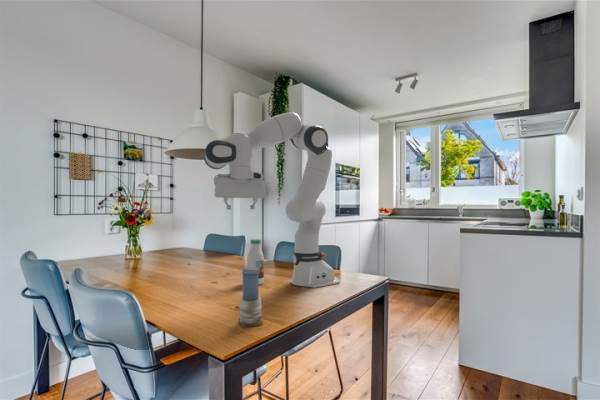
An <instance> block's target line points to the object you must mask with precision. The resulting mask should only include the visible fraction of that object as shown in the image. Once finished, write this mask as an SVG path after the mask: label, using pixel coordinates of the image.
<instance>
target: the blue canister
mask: <svg viewBox="0 0 600 400" xmlns="http://www.w3.org/2000/svg"><path fill="white" fill-rule="evenodd" d="M241 274H242V297H243V300H244V301H255V300H258V296H259V285H260V284H259V268H254V267H249V268H247V267H245V268H244V267H243V268H242V269H241ZM258 284H259V285H258Z"/></svg>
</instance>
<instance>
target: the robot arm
mask: <svg viewBox="0 0 600 400" xmlns="http://www.w3.org/2000/svg"><path fill="white" fill-rule="evenodd" d="M288 140H289V141H291V143H292V145H293V146H294V147H295V148H297V149H300V150H303V151H306V152H307V160H306V163H305V168H304V171H303V175H302V178H301V182H300V185H299V187H298V188H297V190H296V191H295V193H294V195H293V197H292V199H290V200H289V201H288V202H287V204H286V205H285V214H286V216H287V218H288V220H291V221H293V222H296V223H299V224H298V225H299V226H298V228H297V230H296V232H295V234H294V251H293V256H292V257H293V260H292V261H293V272H292V277H291V280H290V283H291V284H292V285H293V286H294V285H295V286H298V287H299V286H300V287H309V288H313V289H314V288H320V287H326V286H331V285H332V286H333V285H336V284H340V283H341V282H340V279H339V278H338V277H336V276H335V275H336V274H335V271H334V268H333V267H332V266H330V264H328V263H327V262H326V261H325V260H323V258H326V257H327V253H324V252H320V251H319V245H320V244H319V242H320V240H319V238H320V231H321V226H322V225H321V224H322V220H323V218H324V216H325V215H326V211H327V210H326V209H327V207H326V206H325V203H324V202H323V201H322V200H320V199H319V197H320V195H321V194H322V193H323V192H324V191H325V189H326V185H327V182H328V178H329V175H330V170H331V165H332V158H333V153H332V152H333V151H332V149H331V148H330V147H329V134H328V132H327V130H326V129H325V128H324V127H323V126H320V125H318V124H317V125H316V124H304V123H303V122H302V118H301V117H300V115H298V114H297V113H296V112H293V111H289V112H285V113H279V114H277V115H274V116H271V117H269V118H266V119H265V120H262V121H261V122H260V123H258V124H257V125H256V126H255V127H253V129H252V130H251V131H250V132H249V133H248V134H243V133H240V132H234V133H231V134H230V135H228V136H227V137H223V138H220V139H216V140H215V139H214V140H212V141H210V142H209V143H208V144H207V145H206V147H205V151H204V152H203V160H204V163H205V164H206V166H208V168H211V169H213V170H221V169H223V168H224V167H226V166H229V174H227V173H223V174H222V173H218V174H216V175H215V176H214V177H213V184H214V186H215V187H214V197H215V198H216V199H217V198H221V199H222V198H223V202H224V204H225V205H226V210H227V211H228V210H232V205H231V204H229V202H228V201H229V199H231V198H232V199H252V201H253V202H252V204H250V205H249V208H250V209H249V210H255V208H256V207H255V205H256V204H257V202H258V199H265V198H266V196H267V187H266V182H265V181H264V180H263V179H264V174H262V173H261V172H258V171H255V170H253V166H252V158H253V151H255V150H259V149H263V148H269V147H272V146H273V147H274V146H276V145H279V144H281V143H284V142H286V141H288Z"/></svg>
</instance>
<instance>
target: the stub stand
mask: <svg viewBox="0 0 600 400" xmlns="http://www.w3.org/2000/svg"><path fill="white" fill-rule="evenodd" d="M262 309H263V307H262V297H261V296H259V295H258V300H255V301H244V300H243V296H241V297H240V298H239V317H238V321H239V323H240V325H241V327H242V329H246V328H252V327H258V326H263V324H264V323H263V320H262V313H263V312H262Z"/></svg>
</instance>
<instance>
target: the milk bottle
mask: <svg viewBox="0 0 600 400" xmlns="http://www.w3.org/2000/svg"><path fill="white" fill-rule="evenodd" d="M261 241H262V240H261V239H259V238H254V239H253V238H252V239H250V249H249V251H248V254H247V256H246V257H247V258H246V260H247V261H246V268H249V267H254V268H259V284H258V286H259V285H262V284H264V283H265V256H264V253H263V251H262V249H261V243H262V242H261Z"/></svg>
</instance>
